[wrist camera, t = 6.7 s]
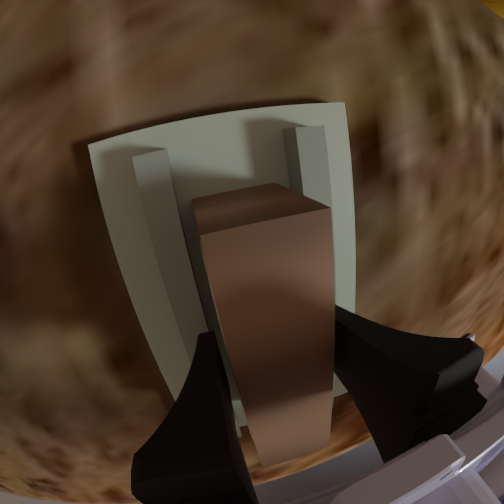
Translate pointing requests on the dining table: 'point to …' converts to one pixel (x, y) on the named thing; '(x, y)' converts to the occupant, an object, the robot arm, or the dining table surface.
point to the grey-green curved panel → (208, 183)
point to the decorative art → (495, 6)
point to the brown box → (274, 311)
